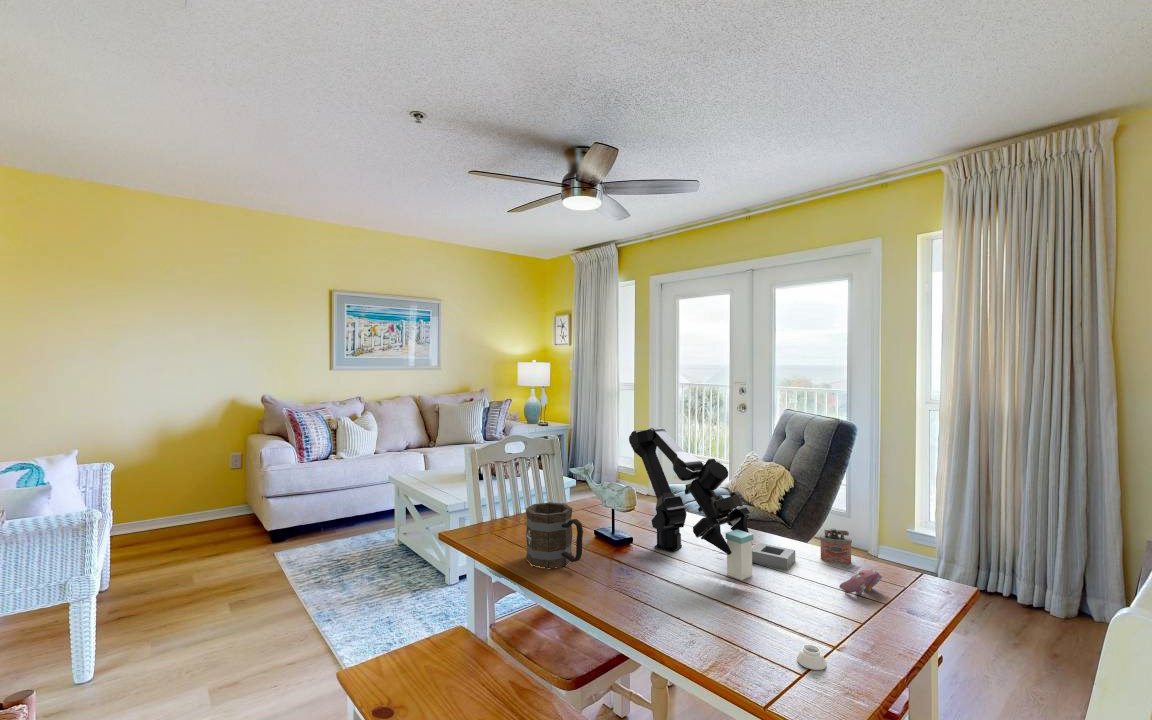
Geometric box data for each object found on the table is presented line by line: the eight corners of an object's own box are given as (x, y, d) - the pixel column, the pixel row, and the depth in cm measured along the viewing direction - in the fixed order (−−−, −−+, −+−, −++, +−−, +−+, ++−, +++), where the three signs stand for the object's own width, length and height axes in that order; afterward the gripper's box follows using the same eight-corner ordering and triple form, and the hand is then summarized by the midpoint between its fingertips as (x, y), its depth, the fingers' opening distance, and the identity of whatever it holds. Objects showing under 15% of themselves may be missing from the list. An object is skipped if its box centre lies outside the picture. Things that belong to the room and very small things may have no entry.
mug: (516, 560, 151) (516, 508, 151) (550, 548, 160) (550, 499, 160) (564, 580, 137) (563, 523, 137) (598, 565, 147) (597, 512, 147)
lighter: (820, 564, 146) (820, 529, 146) (819, 560, 150) (819, 525, 150) (852, 568, 143) (852, 532, 143) (851, 564, 147) (850, 528, 147)
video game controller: (851, 603, 126) (864, 582, 123) (836, 589, 130) (847, 568, 127) (876, 595, 131) (888, 574, 128) (860, 580, 134) (872, 560, 132)
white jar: (828, 673, 96) (823, 658, 101) (828, 657, 96) (823, 643, 101) (799, 669, 97) (795, 655, 102) (799, 654, 97) (795, 640, 102)
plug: (725, 578, 137) (725, 533, 137) (737, 573, 140) (737, 529, 140) (741, 585, 133) (741, 538, 133) (753, 580, 136) (753, 534, 136)
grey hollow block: (750, 563, 146) (750, 550, 146) (759, 554, 152) (759, 542, 152) (787, 571, 140) (787, 558, 140) (795, 562, 146) (795, 550, 146)
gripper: (701, 487, 135) (738, 542, 126) (744, 477, 146) (780, 526, 138) (678, 511, 141) (711, 564, 133) (721, 499, 153) (754, 547, 144)
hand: (741, 549), depth 136 cm, fingers open, 9 cm apart
